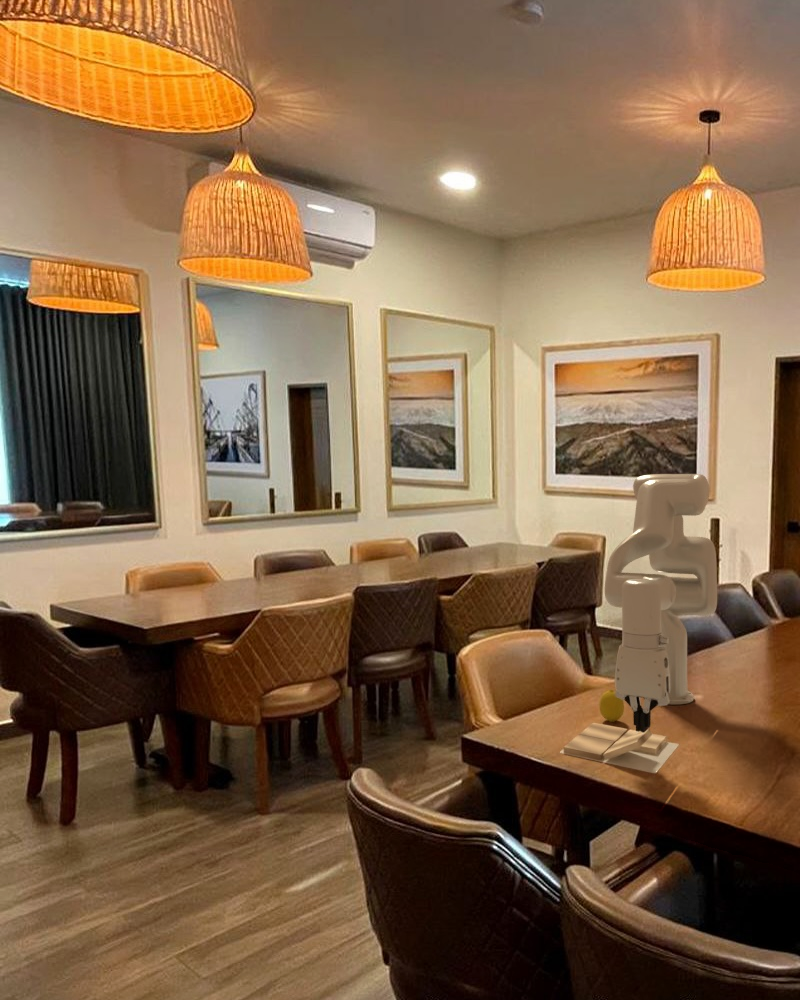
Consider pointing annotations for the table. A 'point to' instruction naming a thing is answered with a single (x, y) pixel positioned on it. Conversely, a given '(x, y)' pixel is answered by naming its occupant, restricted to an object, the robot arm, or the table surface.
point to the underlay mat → (640, 758)
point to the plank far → (649, 742)
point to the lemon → (611, 706)
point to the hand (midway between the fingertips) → (642, 729)
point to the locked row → (594, 741)
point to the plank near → (627, 744)
